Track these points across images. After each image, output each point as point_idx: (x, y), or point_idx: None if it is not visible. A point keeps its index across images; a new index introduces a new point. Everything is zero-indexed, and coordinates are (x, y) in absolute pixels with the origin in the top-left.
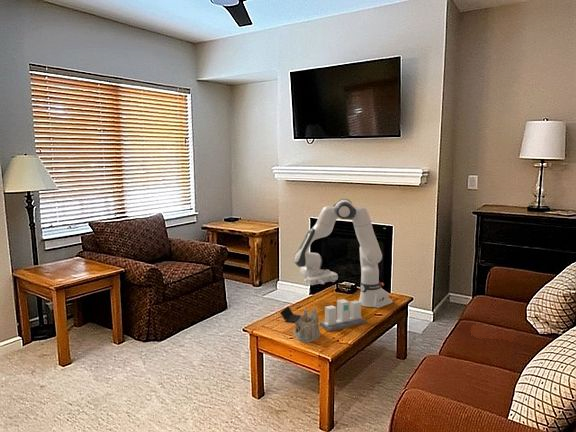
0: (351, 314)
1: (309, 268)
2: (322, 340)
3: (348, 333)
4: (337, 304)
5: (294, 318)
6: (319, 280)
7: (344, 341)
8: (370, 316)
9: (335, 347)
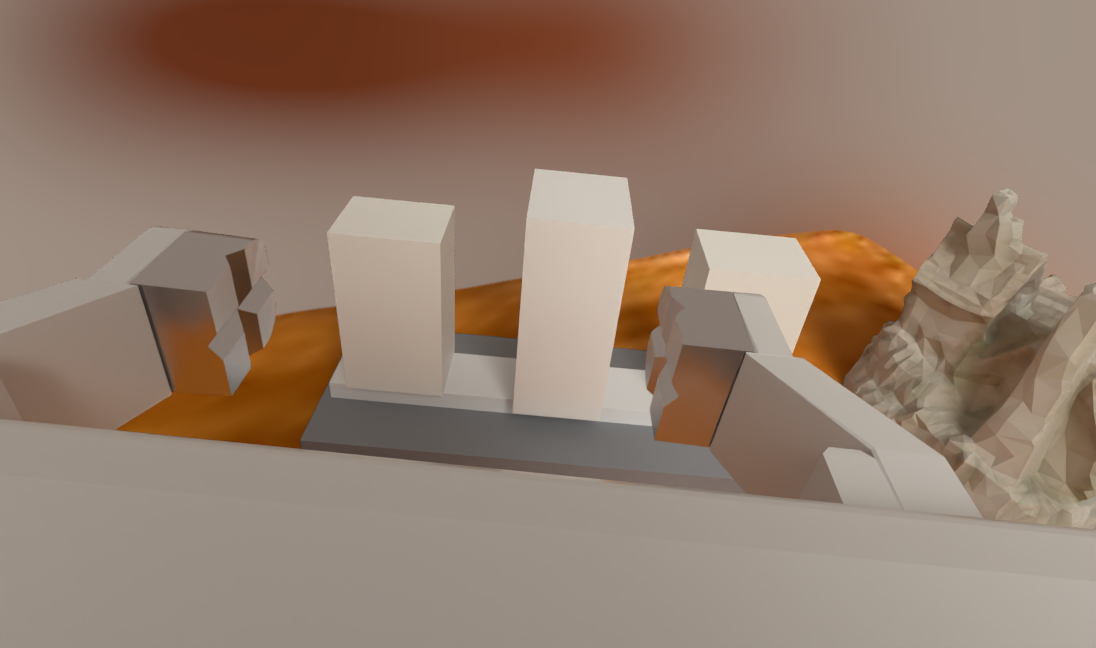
0: (448, 348)
1: None
2: (852, 324)
3: (626, 307)
4: (625, 272)
5: None
6: (877, 413)
7: None
8: (181, 397)
9: None
